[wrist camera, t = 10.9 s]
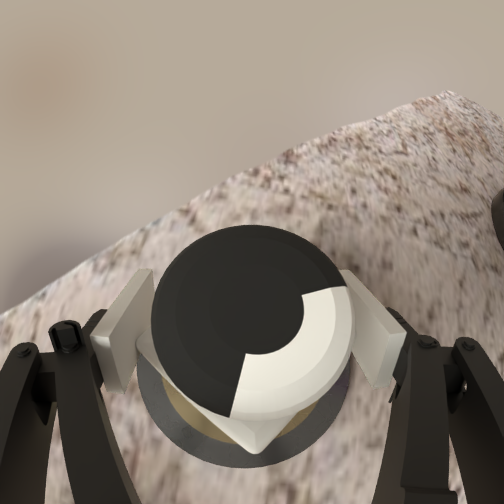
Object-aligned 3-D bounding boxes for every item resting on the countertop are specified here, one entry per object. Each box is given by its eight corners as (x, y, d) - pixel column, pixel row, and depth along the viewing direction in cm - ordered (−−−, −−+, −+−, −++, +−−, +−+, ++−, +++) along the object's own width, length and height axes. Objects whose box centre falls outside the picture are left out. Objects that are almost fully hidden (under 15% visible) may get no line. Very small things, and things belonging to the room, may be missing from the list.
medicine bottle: (165, 362, 18) (79, 308, 7) (238, 288, 21) (246, 163, 10) (248, 437, 16) (270, 495, 6) (319, 355, 19) (419, 293, 8)
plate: (334, 267, 26) (339, 260, 24) (350, 454, 18) (357, 457, 17) (148, 267, 25) (144, 259, 23) (140, 458, 17) (134, 462, 16)
